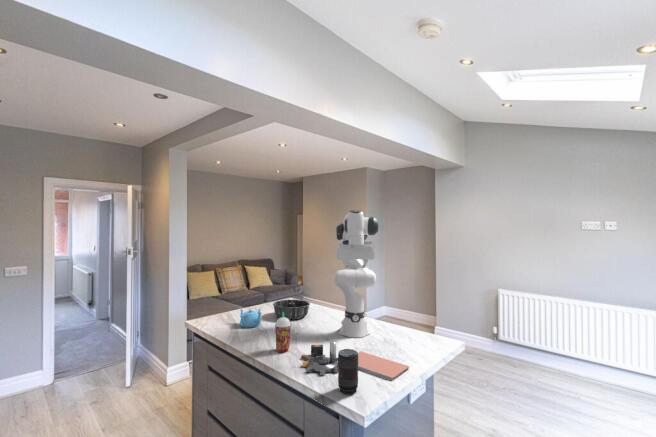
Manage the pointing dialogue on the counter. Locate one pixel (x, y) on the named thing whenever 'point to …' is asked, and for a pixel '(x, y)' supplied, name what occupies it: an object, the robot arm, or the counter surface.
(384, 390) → the counter surface
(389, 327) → the counter surface
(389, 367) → the notebook
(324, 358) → the sprocket
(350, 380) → the camera lens
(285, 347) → the smoothie
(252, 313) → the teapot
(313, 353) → the grey and orange block
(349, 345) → the counter surface
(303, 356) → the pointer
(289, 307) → the bundt pan
